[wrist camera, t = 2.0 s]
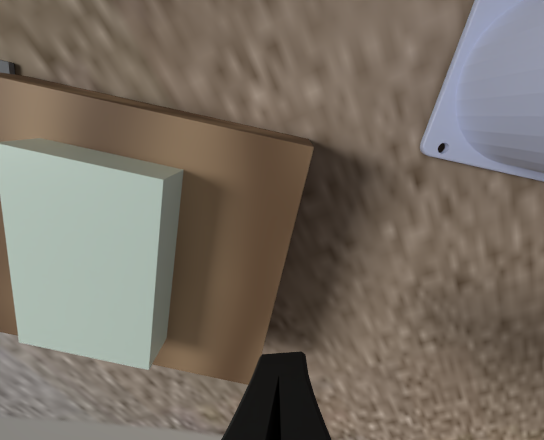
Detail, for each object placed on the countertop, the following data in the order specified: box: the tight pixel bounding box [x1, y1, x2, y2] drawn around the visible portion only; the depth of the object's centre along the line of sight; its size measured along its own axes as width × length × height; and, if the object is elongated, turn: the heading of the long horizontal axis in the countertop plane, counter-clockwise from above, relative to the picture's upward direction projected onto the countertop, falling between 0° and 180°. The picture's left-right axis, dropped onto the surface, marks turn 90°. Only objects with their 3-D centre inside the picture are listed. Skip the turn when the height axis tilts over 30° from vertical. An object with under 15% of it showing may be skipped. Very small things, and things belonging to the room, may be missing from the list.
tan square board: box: [0, 73, 314, 385], centre depth 15 cm, size 15×13×4 cm
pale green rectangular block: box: [0, 138, 183, 370], centre depth 13 cm, size 6×9×2 cm, turn 168°
